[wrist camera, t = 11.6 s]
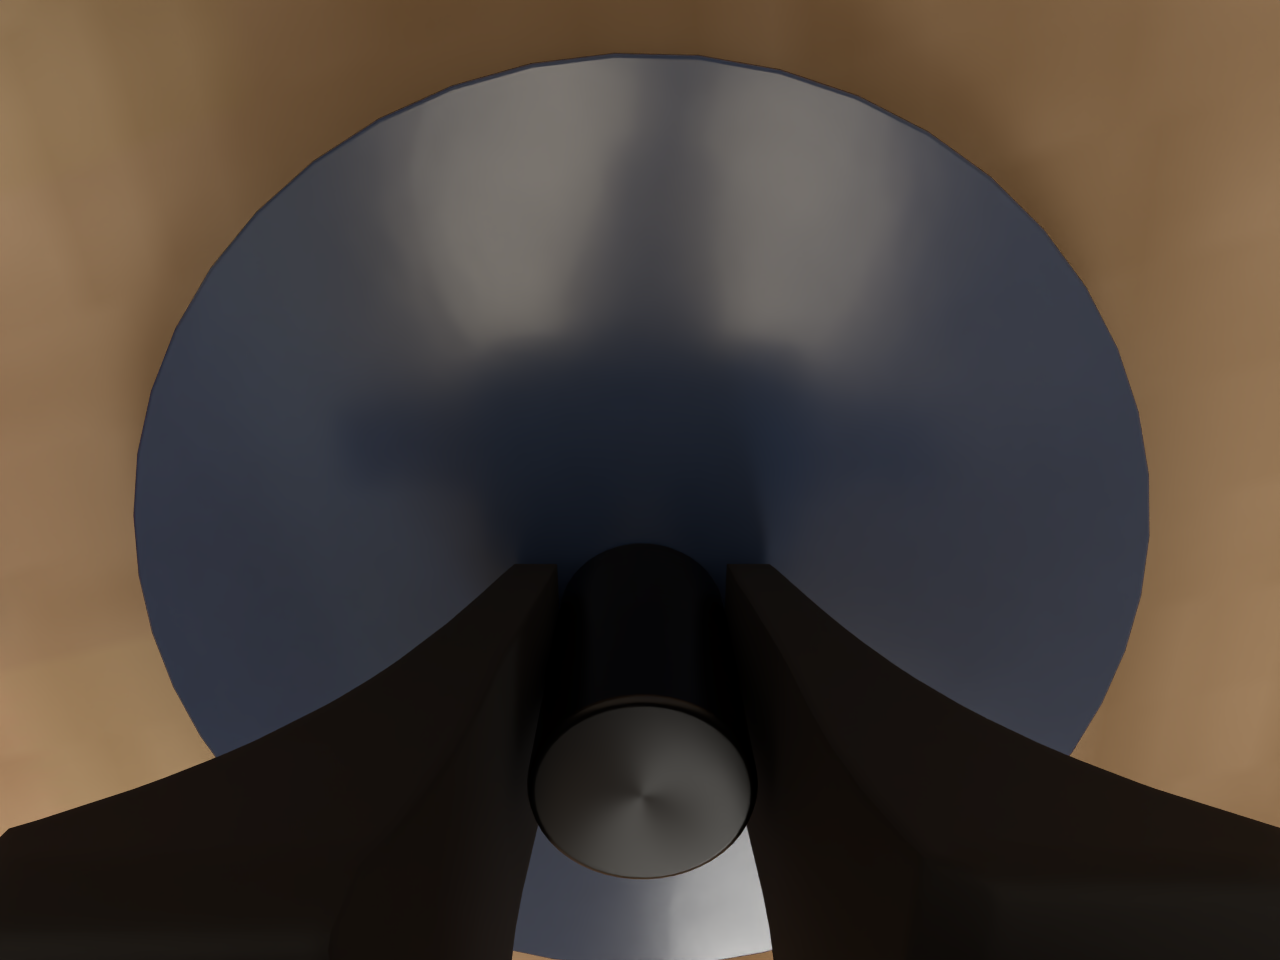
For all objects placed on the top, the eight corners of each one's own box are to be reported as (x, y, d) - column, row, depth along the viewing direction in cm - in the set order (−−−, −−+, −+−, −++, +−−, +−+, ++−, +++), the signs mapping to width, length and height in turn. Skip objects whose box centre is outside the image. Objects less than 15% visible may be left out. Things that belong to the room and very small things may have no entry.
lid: (270, -132, 9) (-90, -447, 5) (1308, 302, 11) (1776, 379, 6) (123, 794, 14) (-119, 1075, 9) (855, 988, 16) (940, 1302, 11)
